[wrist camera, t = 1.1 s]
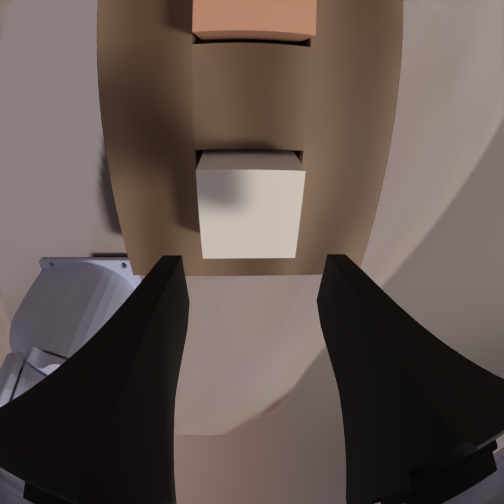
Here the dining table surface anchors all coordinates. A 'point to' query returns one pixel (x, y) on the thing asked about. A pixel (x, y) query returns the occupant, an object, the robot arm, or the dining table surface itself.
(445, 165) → the dining table surface
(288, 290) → the dining table surface
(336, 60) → the key panel
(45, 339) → the robot arm
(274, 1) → the salmon orange square block
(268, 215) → the off white key
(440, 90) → the dining table surface
